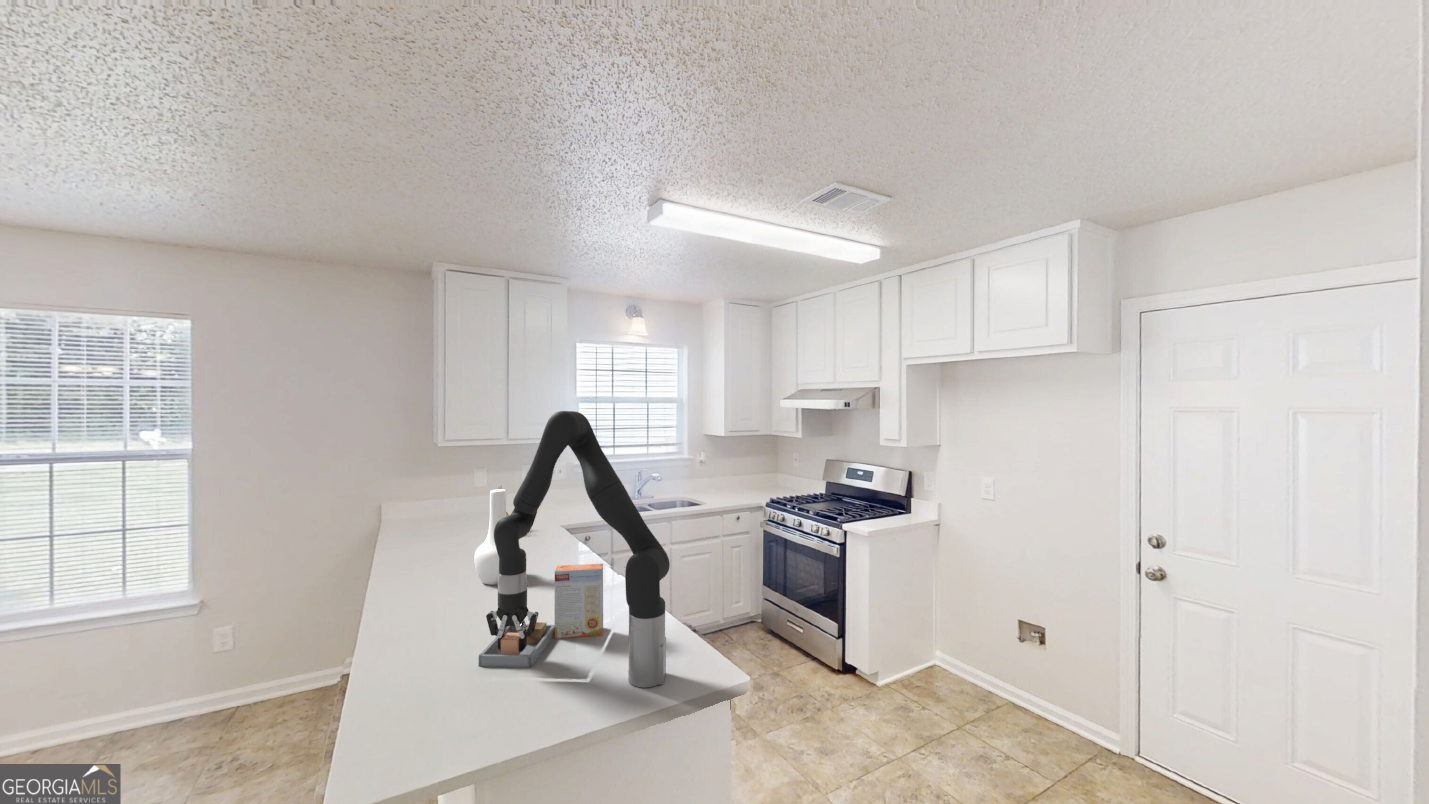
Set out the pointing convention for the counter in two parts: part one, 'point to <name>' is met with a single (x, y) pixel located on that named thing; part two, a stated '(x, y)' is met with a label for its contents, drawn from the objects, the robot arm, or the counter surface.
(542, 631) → the walnut cube
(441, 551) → the counter surface
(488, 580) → the vase
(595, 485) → the robot arm
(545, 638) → the slate tray
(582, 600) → the cracker box
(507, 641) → the terracotta cube
